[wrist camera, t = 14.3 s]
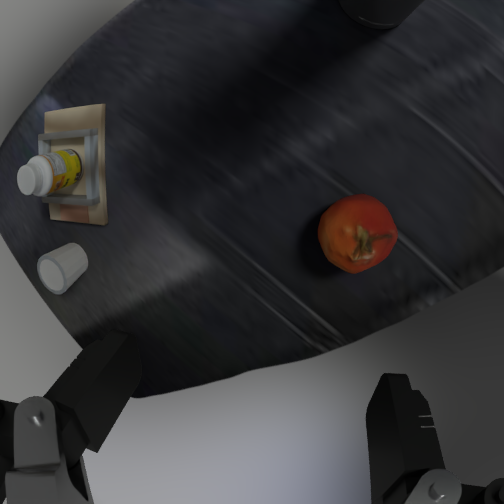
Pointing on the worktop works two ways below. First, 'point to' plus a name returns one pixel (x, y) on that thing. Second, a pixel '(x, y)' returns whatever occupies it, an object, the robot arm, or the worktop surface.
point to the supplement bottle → (50, 172)
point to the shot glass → (62, 267)
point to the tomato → (357, 233)
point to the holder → (93, 155)
